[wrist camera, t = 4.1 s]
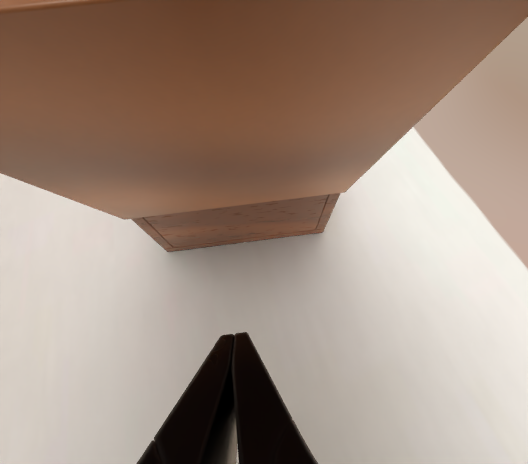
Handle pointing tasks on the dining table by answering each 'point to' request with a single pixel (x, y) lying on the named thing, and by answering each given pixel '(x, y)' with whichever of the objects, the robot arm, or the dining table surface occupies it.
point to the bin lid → (224, 93)
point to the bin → (240, 223)
